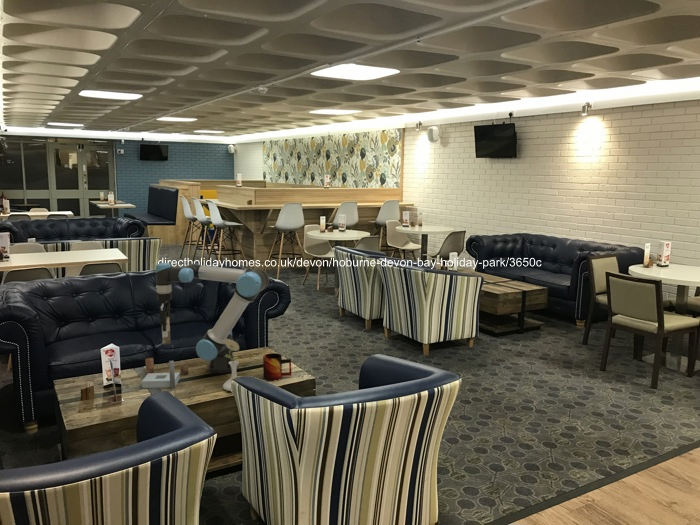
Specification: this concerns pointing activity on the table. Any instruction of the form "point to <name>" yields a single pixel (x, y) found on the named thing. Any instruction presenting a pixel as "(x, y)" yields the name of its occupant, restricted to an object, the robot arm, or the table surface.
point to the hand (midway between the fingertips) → (166, 335)
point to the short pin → (184, 370)
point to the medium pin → (149, 365)
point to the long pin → (167, 339)
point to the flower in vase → (231, 363)
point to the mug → (274, 367)
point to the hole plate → (162, 379)
